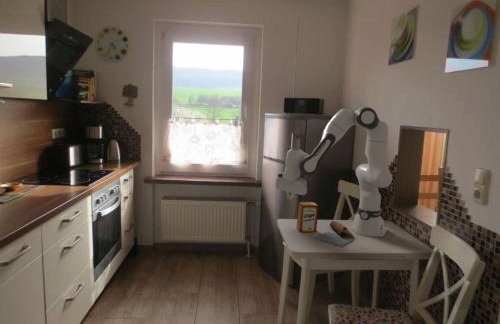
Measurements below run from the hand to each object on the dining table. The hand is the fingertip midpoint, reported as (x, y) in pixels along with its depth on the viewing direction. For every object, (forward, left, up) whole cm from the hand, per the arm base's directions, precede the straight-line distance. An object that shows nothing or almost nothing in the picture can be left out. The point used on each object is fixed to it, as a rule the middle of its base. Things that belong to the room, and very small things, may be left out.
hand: (289, 199), depth 195 cm
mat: (-1, +30, -15) cm, 34 cm away
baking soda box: (0, +13, -16) cm, 20 cm away
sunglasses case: (-13, +28, -15) cm, 34 cm away
